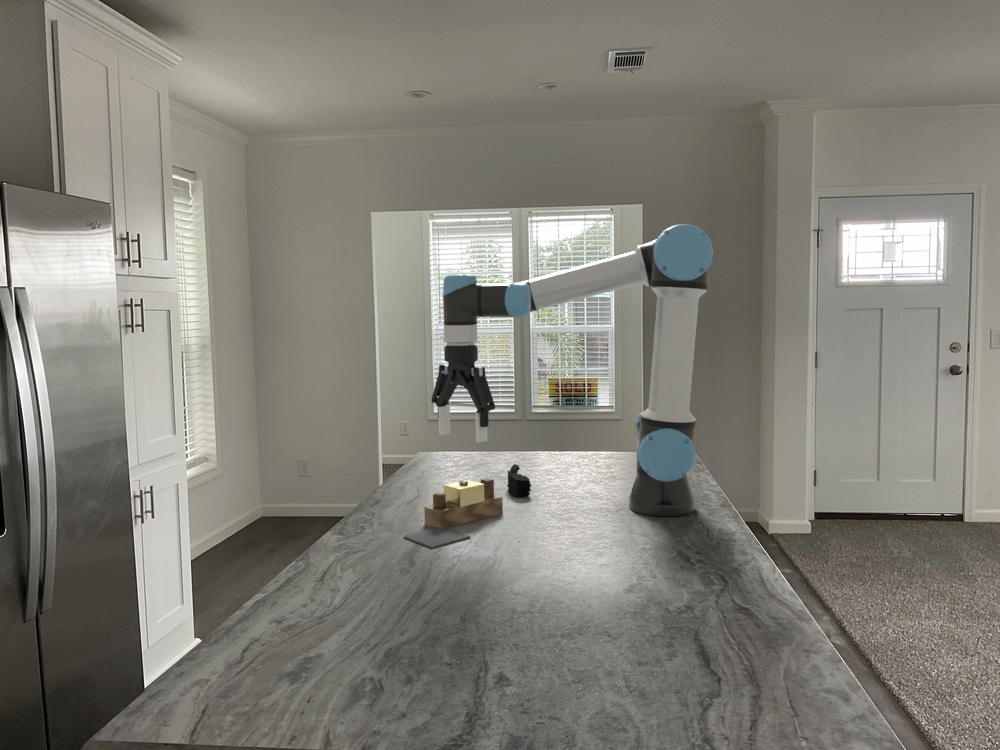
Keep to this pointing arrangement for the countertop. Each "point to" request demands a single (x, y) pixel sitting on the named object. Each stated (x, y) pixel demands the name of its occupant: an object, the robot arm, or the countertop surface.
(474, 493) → the yellow block with knob
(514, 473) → the toy
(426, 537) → the mat
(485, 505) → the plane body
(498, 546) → the countertop surface
